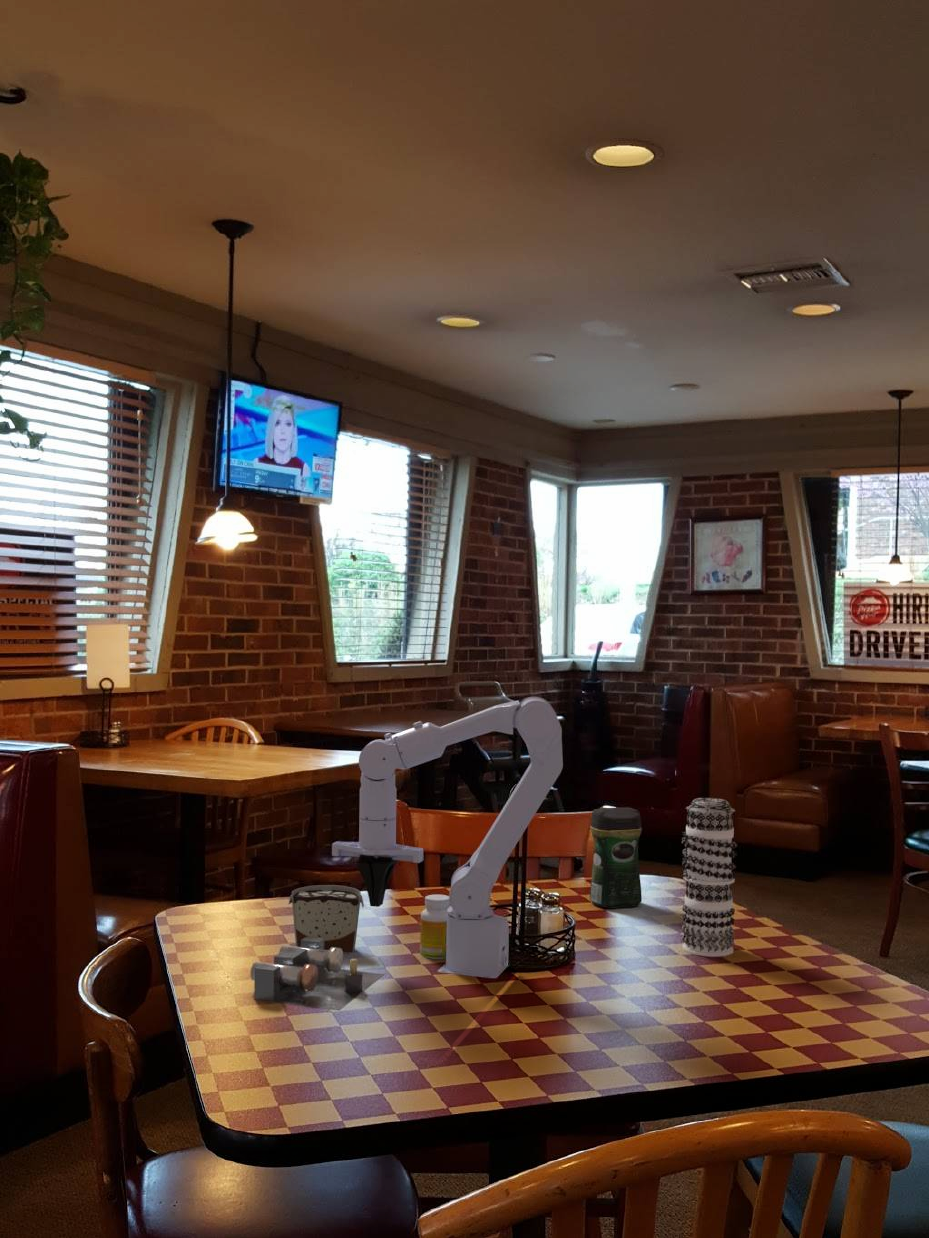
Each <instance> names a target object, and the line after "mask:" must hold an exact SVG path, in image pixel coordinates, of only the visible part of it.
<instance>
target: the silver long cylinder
mask: <svg viewBox="0 0 929 1238" xmlns="http://www.w3.org/2000/svg"><path fill="white" fill-rule="evenodd" d="M289 947H292V948H301V949H308V951H307V964H311V965H316V966H317V967H321V968H327V971H328V972H334V973H338V972H339V971H340V969H342V966H343V962H344V952H343V951H342V949H341V948H335V947H331V948H330V949H329V950H322V949H313V948H304V947H296V946H294V945H282V946H281V947H280V949H279V952H278V954H279V953H281V952H282V951H284V950H285V949H287V948H289Z"/></svg>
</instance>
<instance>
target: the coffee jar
mask: <svg viewBox="0 0 929 1238" xmlns="http://www.w3.org/2000/svg"><path fill="white" fill-rule="evenodd" d="M641 820H642V819H641V814H640V812H639V810H637V809H634V808H632V807H605V808H595V809H593V810H592V814H591V822H590V832H591V834H592V837H593V859H592V869H591V870H592V871H591V880H590V890H589V899H590V902H591V903H592V904H593V905H595V906H597V907H601V908H602V907H603V908H608V909H609V908H611V909H618V908H630V907H636V906H639V905H640V904H641V903H642V884H641V874H640V866H639V865H640V863H639V840H640V836H641V833H642V831H643V830H642V822H641Z"/></svg>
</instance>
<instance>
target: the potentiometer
mask: <svg viewBox="0 0 929 1238" xmlns="http://www.w3.org/2000/svg"><path fill="white" fill-rule="evenodd" d="M349 970H350V971H348V972H345V974H344V991H345V992H348V993H358V992H361V991H362V974H363V973H362V972H363V971H361V972H360V970H358V959H357V958H351V959H350V961H349Z"/></svg>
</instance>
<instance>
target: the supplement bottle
mask: <svg viewBox="0 0 929 1238" xmlns="http://www.w3.org/2000/svg"><path fill="white" fill-rule="evenodd" d="M424 904H425V905H424V906H425V907H426V908H425V909H423V910H422V911H421V912H420V913H421V914H420V938H419V939H420V941H419V943H420V944H419V953H420V954H419V955H420V956H421V957H423V958H427V959H434V960H435V959H437V960H440V959H446V937H447V909H448V908H449V907H450V906H451V904H450V901H449V895H445V894H430V895H429V894H428V895H426V896H425V898H424Z"/></svg>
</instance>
